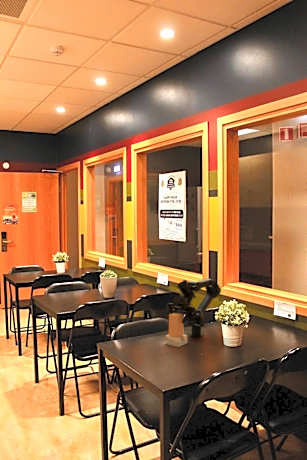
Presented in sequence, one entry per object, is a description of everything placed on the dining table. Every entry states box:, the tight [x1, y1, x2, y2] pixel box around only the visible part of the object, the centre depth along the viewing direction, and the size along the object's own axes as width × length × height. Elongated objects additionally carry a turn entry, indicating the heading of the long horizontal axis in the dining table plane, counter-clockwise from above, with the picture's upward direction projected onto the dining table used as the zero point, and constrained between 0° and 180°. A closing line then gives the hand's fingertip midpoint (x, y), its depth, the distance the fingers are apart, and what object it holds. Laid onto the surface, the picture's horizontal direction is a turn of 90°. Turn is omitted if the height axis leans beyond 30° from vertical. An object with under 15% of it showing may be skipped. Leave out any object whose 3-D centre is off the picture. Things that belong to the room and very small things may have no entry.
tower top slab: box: [165, 334, 189, 343], centre depth 240 cm, size 9×9×2 cm
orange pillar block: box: [168, 312, 185, 337], centre depth 239 cm, size 6×6×12 cm
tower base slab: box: [165, 339, 188, 348], centre depth 240 cm, size 9×9×2 cm
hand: (175, 321), depth 238 cm, fingers open, 9 cm apart
